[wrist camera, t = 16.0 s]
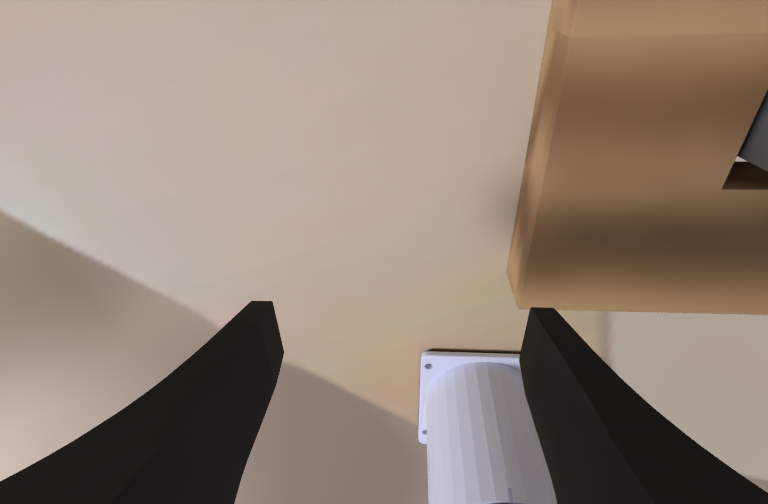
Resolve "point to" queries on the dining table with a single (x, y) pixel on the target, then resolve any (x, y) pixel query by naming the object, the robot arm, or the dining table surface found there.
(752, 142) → the plug
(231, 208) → the dining table surface
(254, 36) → the dining table surface
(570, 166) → the socket board
